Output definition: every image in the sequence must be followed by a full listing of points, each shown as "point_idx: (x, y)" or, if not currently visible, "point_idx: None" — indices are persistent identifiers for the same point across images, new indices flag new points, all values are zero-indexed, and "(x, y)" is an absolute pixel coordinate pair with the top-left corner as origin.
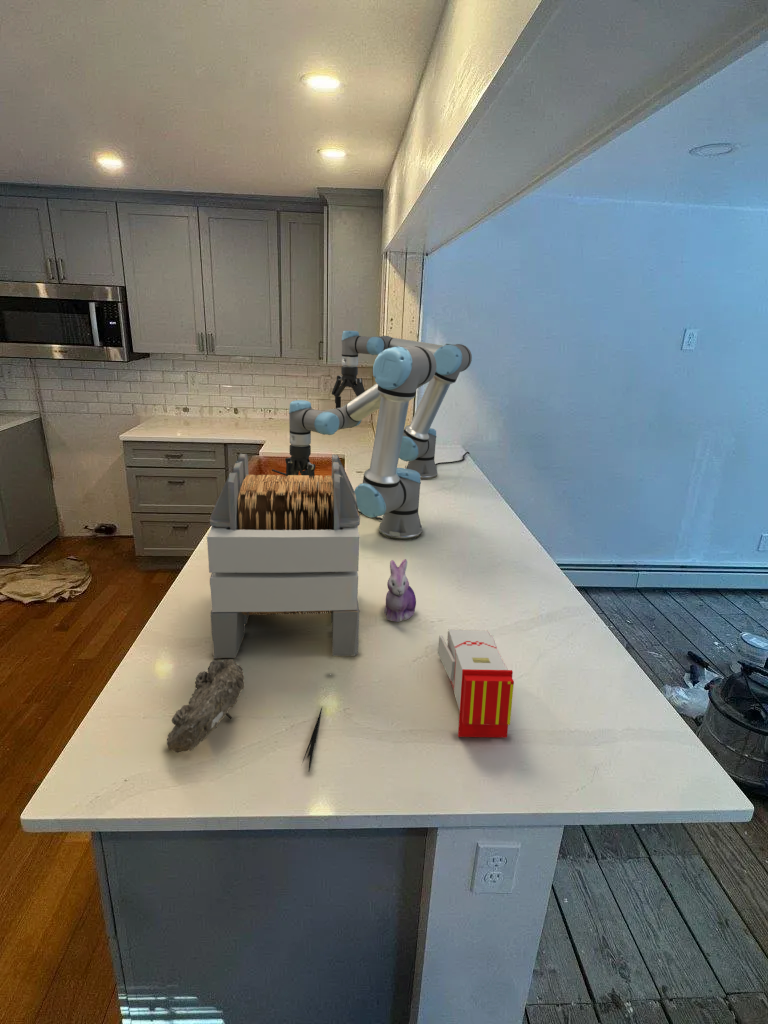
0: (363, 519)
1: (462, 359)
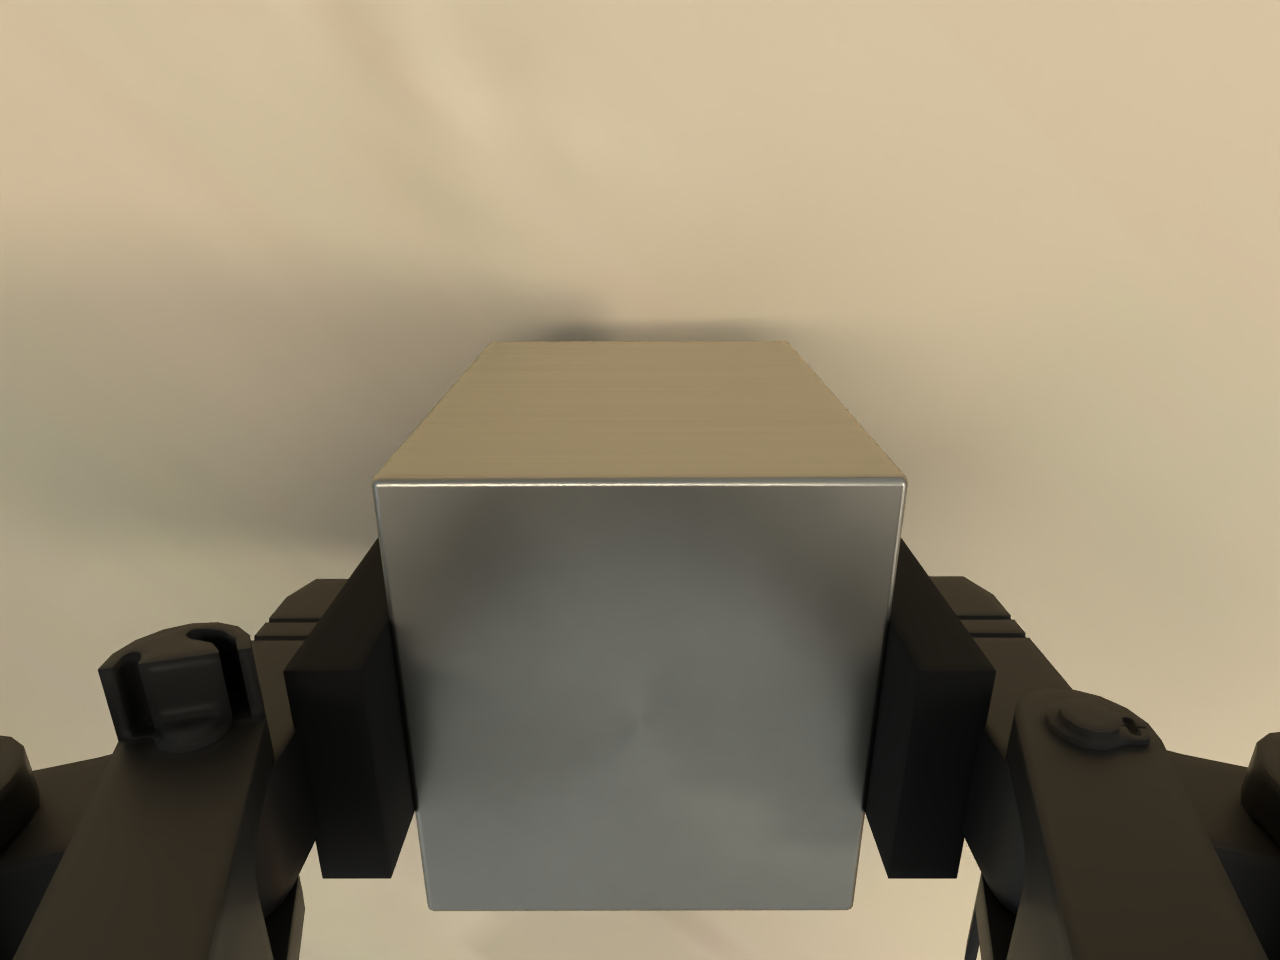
0: None
1: None
